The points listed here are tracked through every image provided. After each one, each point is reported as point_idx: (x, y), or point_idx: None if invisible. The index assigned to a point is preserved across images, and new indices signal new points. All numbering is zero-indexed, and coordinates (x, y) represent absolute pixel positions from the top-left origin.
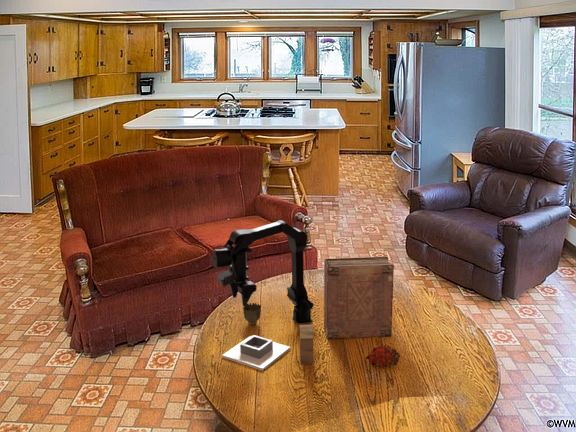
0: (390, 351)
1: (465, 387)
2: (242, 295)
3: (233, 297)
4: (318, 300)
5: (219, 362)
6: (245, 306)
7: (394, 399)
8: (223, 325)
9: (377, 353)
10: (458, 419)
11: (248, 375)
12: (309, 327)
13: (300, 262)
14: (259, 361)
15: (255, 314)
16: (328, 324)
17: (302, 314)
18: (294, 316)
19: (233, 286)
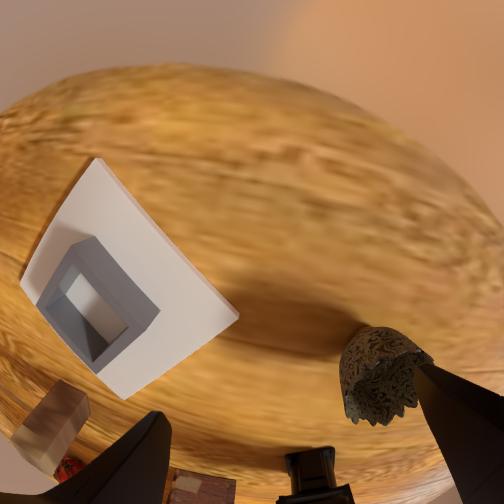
0: (59, 483)
1: None
2: (49, 496)
3: (419, 365)
4: (389, 479)
5: (75, 145)
6: (426, 359)
7: (9, 418)
8: (403, 215)
9: (56, 473)
10: (3, 432)
11: (11, 235)
12: (34, 464)
13: None
14: (44, 287)
15: (341, 388)
16: (167, 500)
17: (293, 481)
18: (311, 462)
19: (490, 458)
